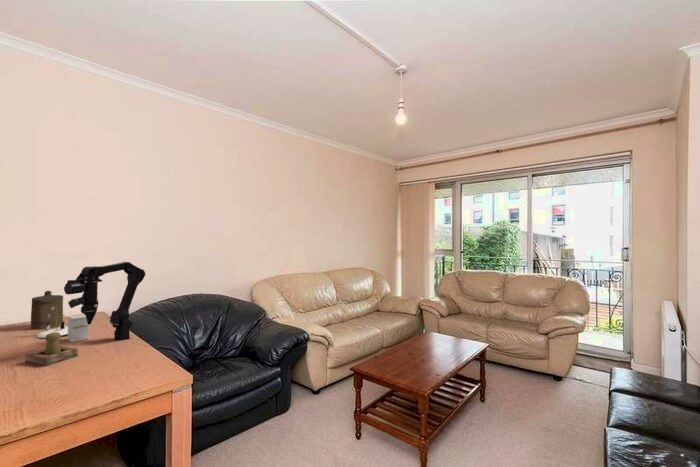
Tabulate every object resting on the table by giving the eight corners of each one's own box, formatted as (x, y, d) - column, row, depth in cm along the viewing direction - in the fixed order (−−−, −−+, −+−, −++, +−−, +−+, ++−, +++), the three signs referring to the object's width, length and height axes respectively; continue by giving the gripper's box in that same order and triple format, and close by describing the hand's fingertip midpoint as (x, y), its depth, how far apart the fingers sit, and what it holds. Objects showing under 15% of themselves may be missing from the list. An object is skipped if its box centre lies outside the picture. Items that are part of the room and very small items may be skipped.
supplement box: (71, 342, 177) (71, 318, 178) (67, 339, 182) (67, 316, 182) (88, 339, 183) (88, 316, 183) (84, 336, 188) (84, 314, 188)
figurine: (87, 329, 199) (85, 302, 199) (53, 339, 181) (51, 309, 181) (63, 330, 204) (61, 303, 204) (27, 339, 186) (25, 310, 187)
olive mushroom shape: (46, 360, 149) (46, 335, 149) (41, 357, 153) (42, 333, 153) (63, 356, 154) (63, 332, 154) (58, 353, 158) (59, 330, 158)
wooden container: (60, 321, 219) (60, 288, 219) (65, 325, 209) (65, 290, 210) (28, 326, 207) (29, 290, 207) (32, 330, 198) (33, 293, 198)
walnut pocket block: (57, 353, 161) (57, 346, 161) (77, 356, 158) (77, 348, 158) (24, 363, 149) (25, 355, 149) (46, 366, 145) (46, 358, 145)
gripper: (71, 290, 172) (71, 320, 172) (67, 295, 157) (66, 329, 157) (98, 288, 179) (98, 317, 178) (97, 293, 163) (96, 325, 163)
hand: (89, 322), depth 169 cm, fingers open, 9 cm apart
